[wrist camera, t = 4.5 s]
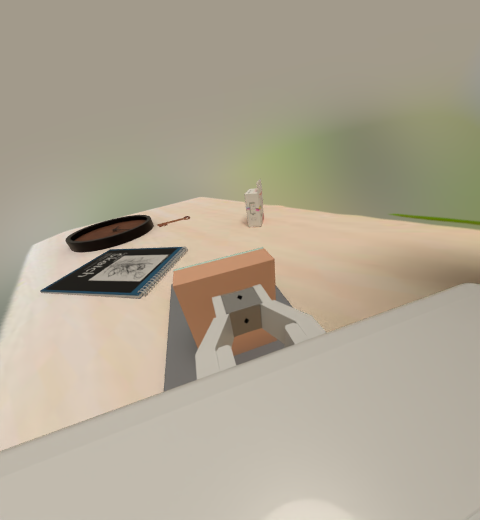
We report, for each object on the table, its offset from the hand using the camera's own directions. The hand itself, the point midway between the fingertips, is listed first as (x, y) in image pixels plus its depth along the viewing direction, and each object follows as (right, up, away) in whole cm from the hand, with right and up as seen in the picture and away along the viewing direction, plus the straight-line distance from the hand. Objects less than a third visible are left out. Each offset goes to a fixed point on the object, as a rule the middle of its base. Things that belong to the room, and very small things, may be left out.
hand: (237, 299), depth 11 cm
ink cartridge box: (+6, +16, +57) cm, 60 cm away
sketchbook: (-32, -1, +39) cm, 51 cm away
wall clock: (-54, +13, +67) cm, 87 cm away
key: (-30, +19, +73) cm, 81 cm away
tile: (0, -9, +14) cm, 17 cm away
